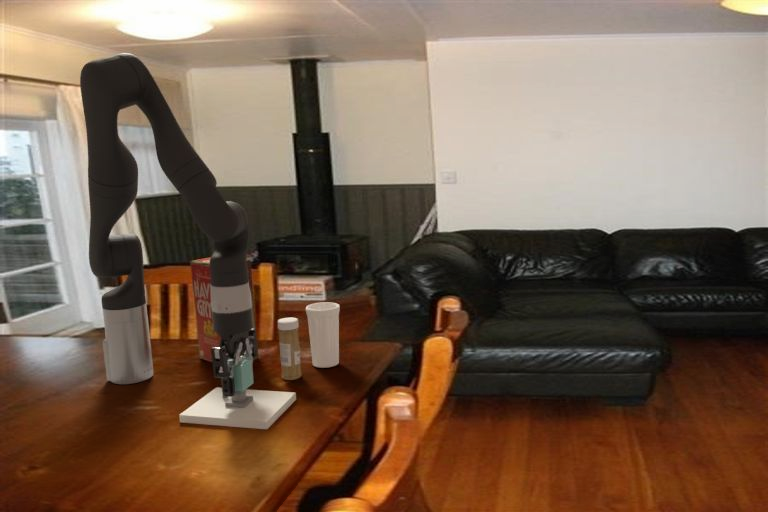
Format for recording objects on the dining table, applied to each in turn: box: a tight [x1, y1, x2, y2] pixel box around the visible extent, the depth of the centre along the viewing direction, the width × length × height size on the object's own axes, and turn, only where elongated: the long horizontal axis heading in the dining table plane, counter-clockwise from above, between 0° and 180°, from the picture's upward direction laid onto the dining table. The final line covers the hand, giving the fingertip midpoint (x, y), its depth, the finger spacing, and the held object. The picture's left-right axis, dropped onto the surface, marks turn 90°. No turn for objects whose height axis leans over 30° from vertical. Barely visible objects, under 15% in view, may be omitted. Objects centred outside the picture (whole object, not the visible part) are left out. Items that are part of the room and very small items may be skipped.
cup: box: [305, 301, 341, 369], centre depth 146 cm, size 8×8×14 cm
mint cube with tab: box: [221, 356, 254, 391], centre depth 121 cm, size 4×4×6 cm
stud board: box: [178, 386, 297, 430], centre depth 122 cm, size 18×14×5 cm
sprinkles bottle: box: [277, 317, 302, 381], centre depth 139 cm, size 5×5×13 cm
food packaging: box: [189, 256, 259, 363], centre depth 153 cm, size 13×9×25 cm
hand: (238, 388), depth 122 cm, fingers open, 6 cm apart
